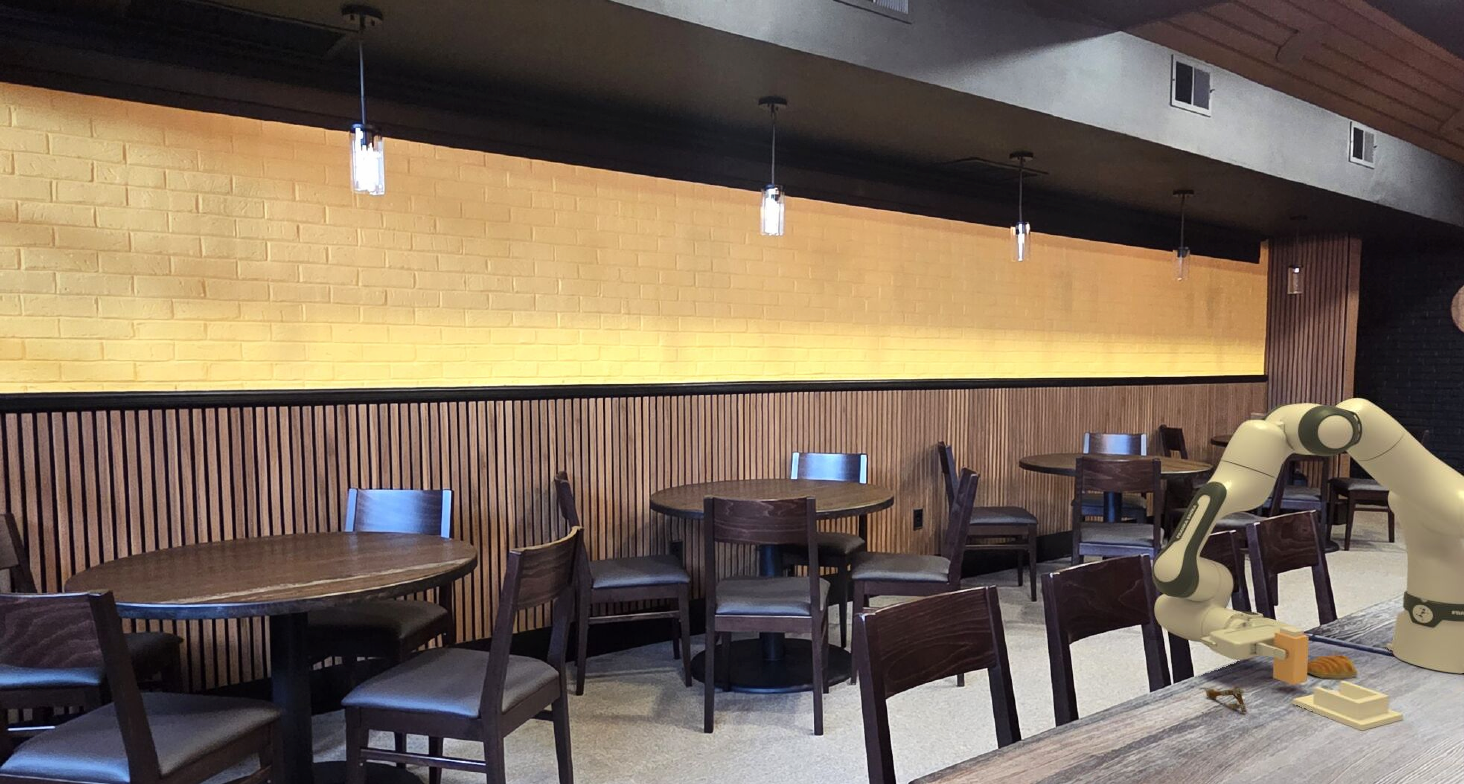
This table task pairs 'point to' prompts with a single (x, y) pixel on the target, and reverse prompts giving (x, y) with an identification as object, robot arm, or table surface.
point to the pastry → (1332, 667)
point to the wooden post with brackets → (1213, 695)
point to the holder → (1351, 706)
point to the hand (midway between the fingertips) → (1295, 652)
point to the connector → (1291, 656)
